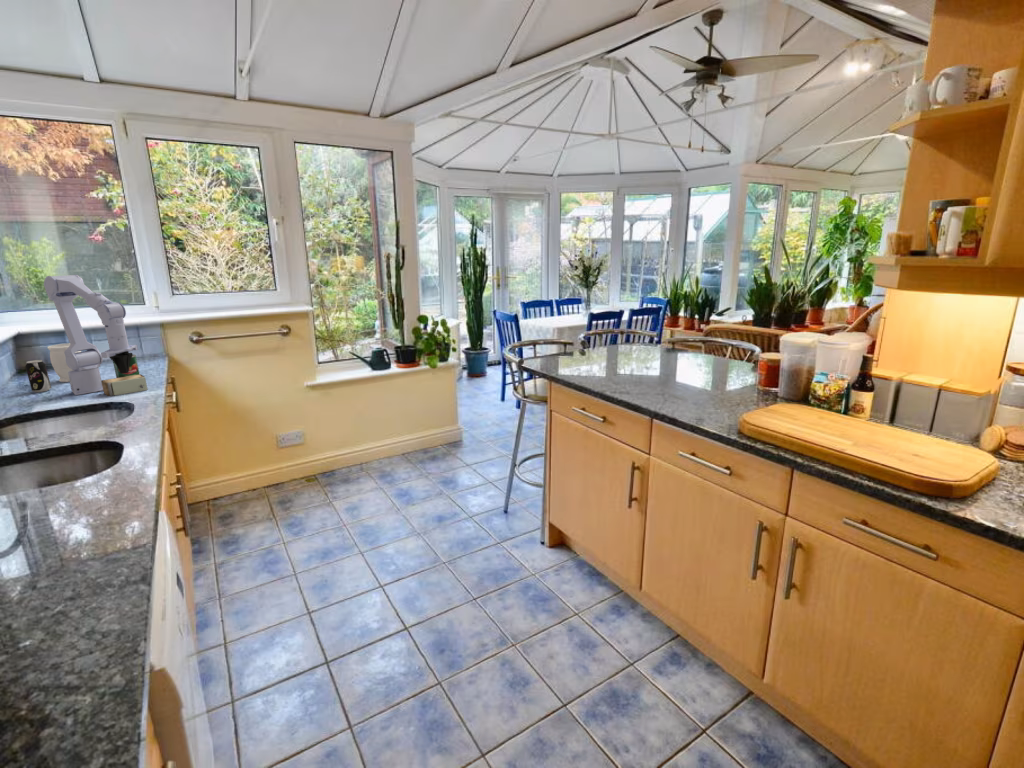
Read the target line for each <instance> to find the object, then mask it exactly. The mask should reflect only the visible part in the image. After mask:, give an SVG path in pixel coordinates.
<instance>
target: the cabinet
mask: <svg viewBox="0 0 1024 768" xmlns="http://www.w3.org/2000/svg"><path fill="white" fill-rule="evenodd" d="M143 377H145V375H143V374H140V373H139V375H133V376H127V377H120V378H116V377H115V378H110V379H109V378H108V379H103V380H102V379H101V382H102V386H103V391H102V392H103V394H105V395H106V396H107V397H111V396H110V394H109V389H108V385H107V383H111V382H117V381H123V380H130V379H136V378H143ZM111 387H112V384H111ZM112 392H113V388H112ZM113 396H114V392H113Z"/></svg>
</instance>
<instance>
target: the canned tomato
mask: <svg viewBox="0 0 1024 768" xmlns="http://www.w3.org/2000/svg"><path fill="white" fill-rule="evenodd" d="M112 363H113V369H114V373H115V378H120V377H127V376H133V375H139V374H140V370H139V365H138V360H137V355H136V354H133V356H132V358H131V360H130V365H129V373H120V371H119V369H118V367H117V366H116V364H115V363H114V362H113V361H112Z"/></svg>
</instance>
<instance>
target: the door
mask: <svg viewBox="0 0 1024 768" xmlns="http://www.w3.org/2000/svg"><path fill="white" fill-rule="evenodd" d="M111 384H112V387H111ZM107 385H108V389H109V394H110V396H109V397H113V396H114V395H115V396H119V395H126V394H131V393H137V392H142V391H148V390H149V389H148V385H147V379H146V377H145V376H144V377H143V378H136V379H130V380H123V381H117V382H111V383H107ZM112 388H113V392H114V395H113V392H112Z"/></svg>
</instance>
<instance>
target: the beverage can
mask: <svg viewBox="0 0 1024 768" xmlns="http://www.w3.org/2000/svg"><path fill="white" fill-rule="evenodd" d="M25 371H26V374H27V377H28V381H29V385H30V389H31V392H34V393H44V392H47V391H50V389H52V384H51V381H50V377H49V373H48V369H47V365H46V363H45V362H43V360H42V359H35V360H29V361H26V364H25Z"/></svg>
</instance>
